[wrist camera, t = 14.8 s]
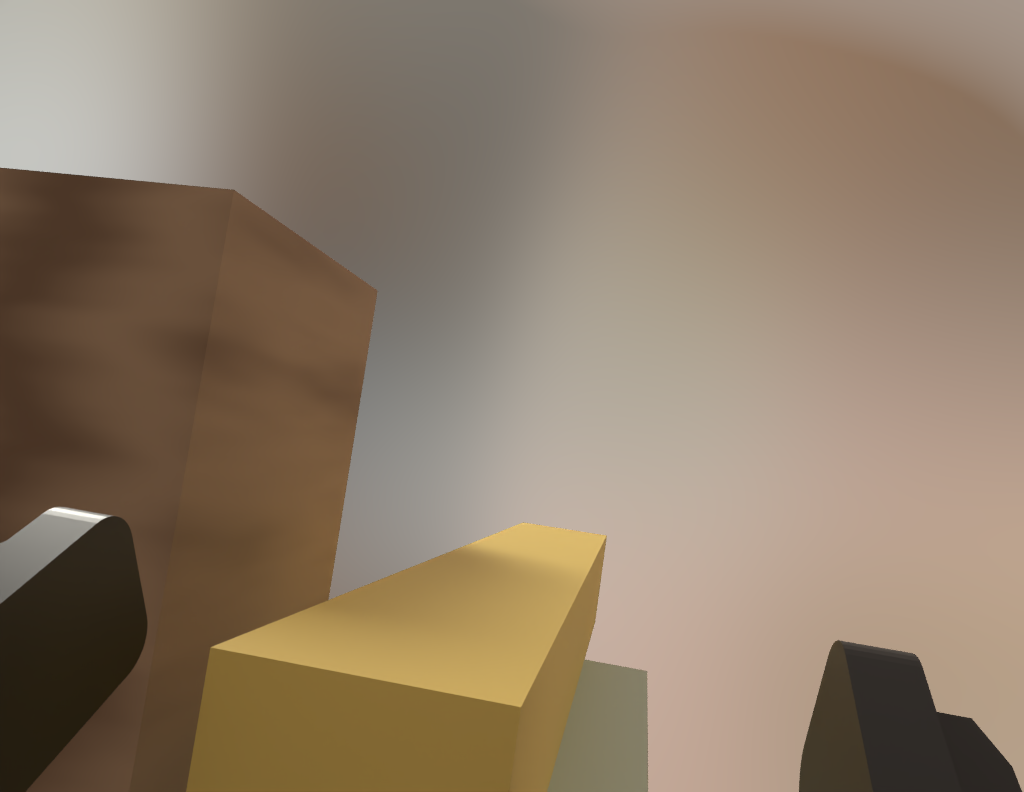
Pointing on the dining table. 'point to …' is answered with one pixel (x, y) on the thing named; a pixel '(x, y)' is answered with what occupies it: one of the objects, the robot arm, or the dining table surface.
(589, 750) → the pale green tall block
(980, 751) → the robot arm
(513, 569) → the bar
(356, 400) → the stand
